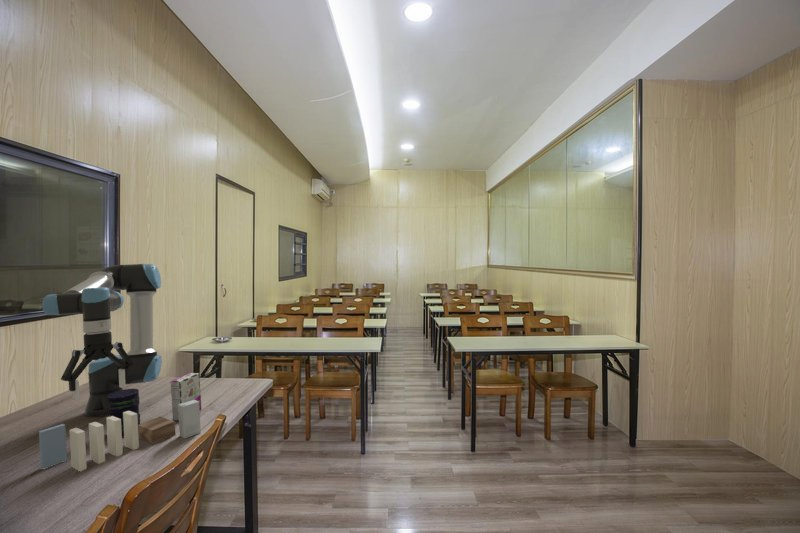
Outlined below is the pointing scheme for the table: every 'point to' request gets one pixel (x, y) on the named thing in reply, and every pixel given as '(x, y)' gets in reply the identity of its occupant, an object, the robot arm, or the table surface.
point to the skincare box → (189, 418)
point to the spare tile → (52, 445)
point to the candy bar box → (185, 392)
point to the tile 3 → (114, 436)
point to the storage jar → (123, 404)
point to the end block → (156, 430)
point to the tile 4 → (130, 430)
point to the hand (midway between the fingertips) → (100, 393)
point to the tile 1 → (78, 449)
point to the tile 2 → (96, 442)
